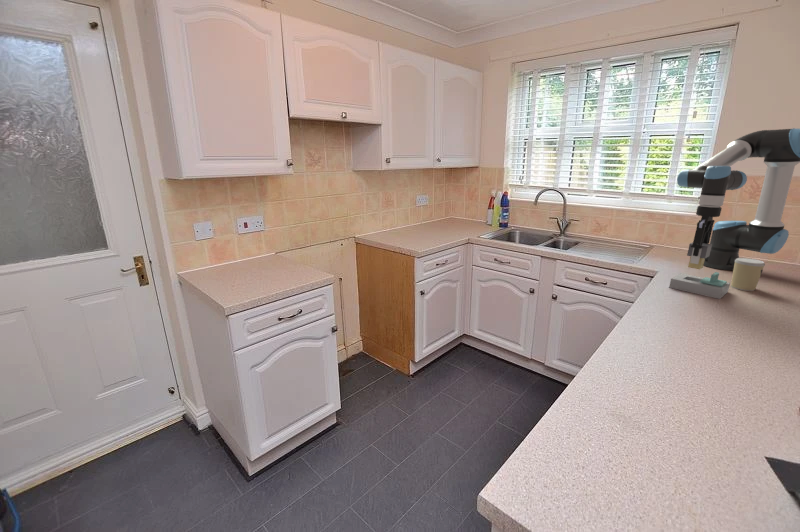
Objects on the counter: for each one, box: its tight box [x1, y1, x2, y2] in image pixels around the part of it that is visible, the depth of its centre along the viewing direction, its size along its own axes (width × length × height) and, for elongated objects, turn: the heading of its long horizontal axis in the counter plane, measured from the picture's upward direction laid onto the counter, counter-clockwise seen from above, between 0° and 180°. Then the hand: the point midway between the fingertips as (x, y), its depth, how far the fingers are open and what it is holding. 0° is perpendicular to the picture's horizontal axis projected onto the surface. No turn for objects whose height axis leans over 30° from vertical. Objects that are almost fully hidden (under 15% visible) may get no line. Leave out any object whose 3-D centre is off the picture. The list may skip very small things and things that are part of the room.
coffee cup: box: [730, 257, 766, 292], centre depth 156 cm, size 9×9×12 cm
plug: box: [686, 242, 712, 270], centre depth 153 cm, size 6×6×10 cm
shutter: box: [700, 271, 728, 287], centre depth 151 cm, size 7×7×4 cm
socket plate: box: [668, 272, 731, 300], centre depth 155 cm, size 12×17×4 cm
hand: (696, 261), depth 154 cm, fingers closed on plug, 6 cm apart
